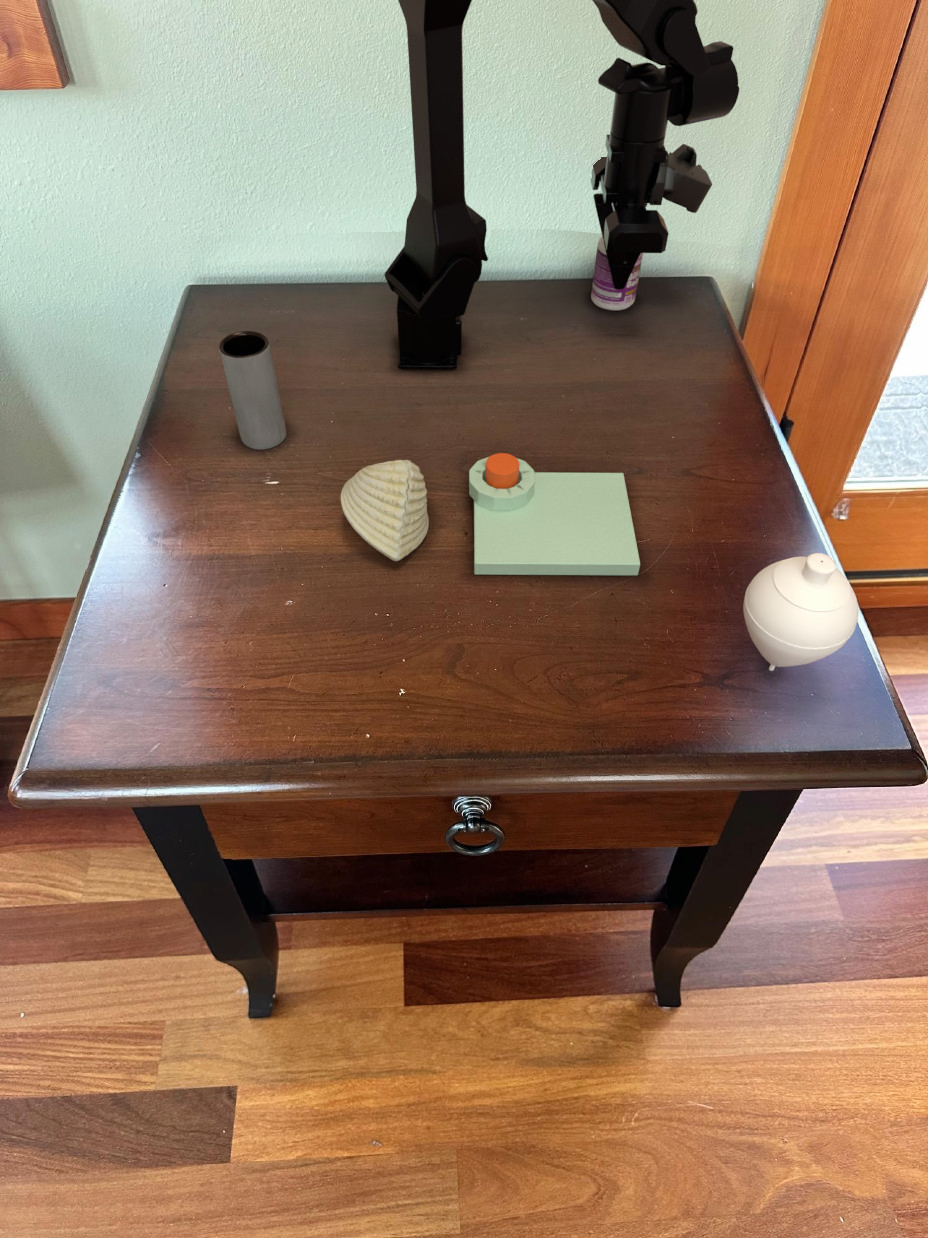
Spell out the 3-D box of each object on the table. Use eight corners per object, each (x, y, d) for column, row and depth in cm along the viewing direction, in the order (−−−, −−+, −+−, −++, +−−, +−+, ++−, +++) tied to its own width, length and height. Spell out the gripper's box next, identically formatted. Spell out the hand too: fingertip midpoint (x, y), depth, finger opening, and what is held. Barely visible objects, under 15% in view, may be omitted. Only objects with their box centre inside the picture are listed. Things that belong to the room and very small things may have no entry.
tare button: (485, 489, 74) (486, 474, 73) (485, 468, 76) (485, 452, 75) (519, 489, 74) (520, 474, 73) (517, 468, 76) (518, 452, 75)
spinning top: (821, 721, 62) (884, 615, 53) (716, 697, 63) (760, 590, 54) (822, 643, 66) (879, 534, 57) (724, 623, 68) (765, 513, 59)
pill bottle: (633, 314, 99) (647, 232, 92) (588, 309, 100) (598, 228, 92) (636, 291, 103) (649, 211, 95) (592, 287, 103) (603, 207, 96)
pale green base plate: (469, 574, 71) (469, 549, 69) (468, 480, 79) (469, 454, 77) (638, 575, 71) (643, 550, 69) (620, 480, 79) (625, 455, 77)
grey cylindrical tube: (295, 429, 84) (278, 336, 76) (270, 455, 82) (250, 361, 74) (257, 417, 86) (237, 325, 78) (231, 442, 83) (208, 349, 75)
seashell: (426, 460, 78) (457, 470, 70) (409, 549, 79) (438, 568, 72) (342, 444, 74) (366, 453, 67) (326, 537, 76) (347, 555, 69)
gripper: (733, 169, 81) (698, 318, 93) (698, 101, 93) (671, 240, 105) (618, 168, 81) (598, 317, 93) (599, 100, 93) (583, 240, 105)
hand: (616, 276), depth 99 cm, fingers closed on pill bottle, 5 cm apart
